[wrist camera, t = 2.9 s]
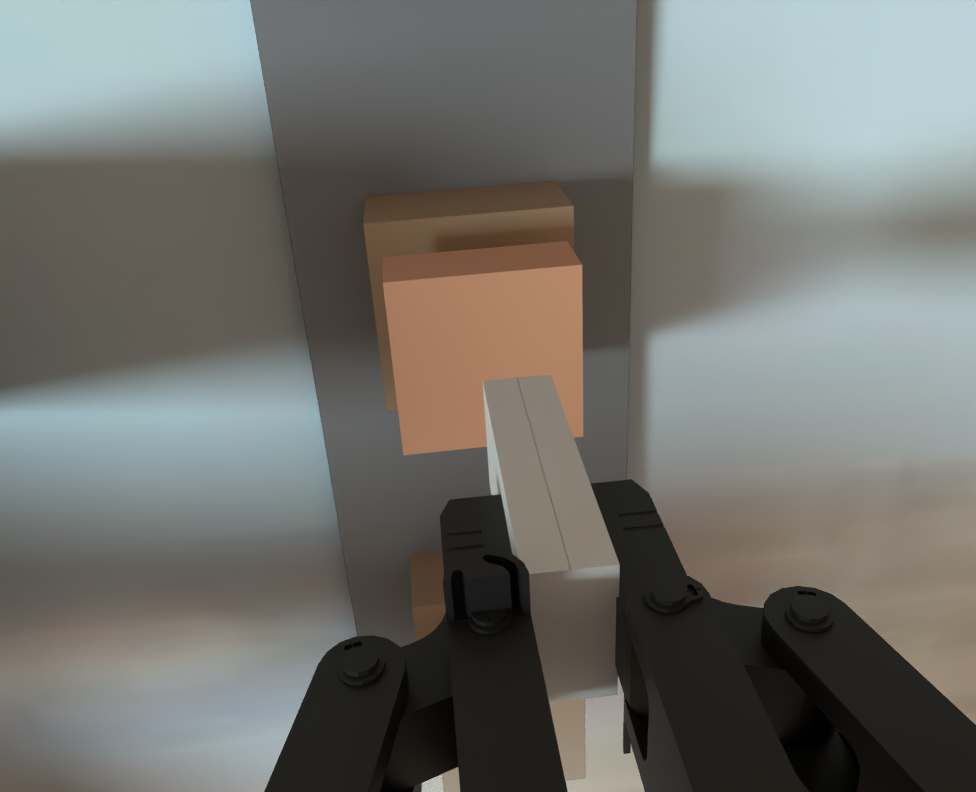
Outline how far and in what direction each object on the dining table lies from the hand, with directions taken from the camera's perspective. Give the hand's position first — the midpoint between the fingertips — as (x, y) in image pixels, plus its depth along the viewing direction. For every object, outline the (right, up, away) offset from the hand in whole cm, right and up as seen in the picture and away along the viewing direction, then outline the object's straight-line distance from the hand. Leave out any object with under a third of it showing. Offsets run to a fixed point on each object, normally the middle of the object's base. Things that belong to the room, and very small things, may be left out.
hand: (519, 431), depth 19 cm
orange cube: (-1, +4, +8) cm, 9 cm away
